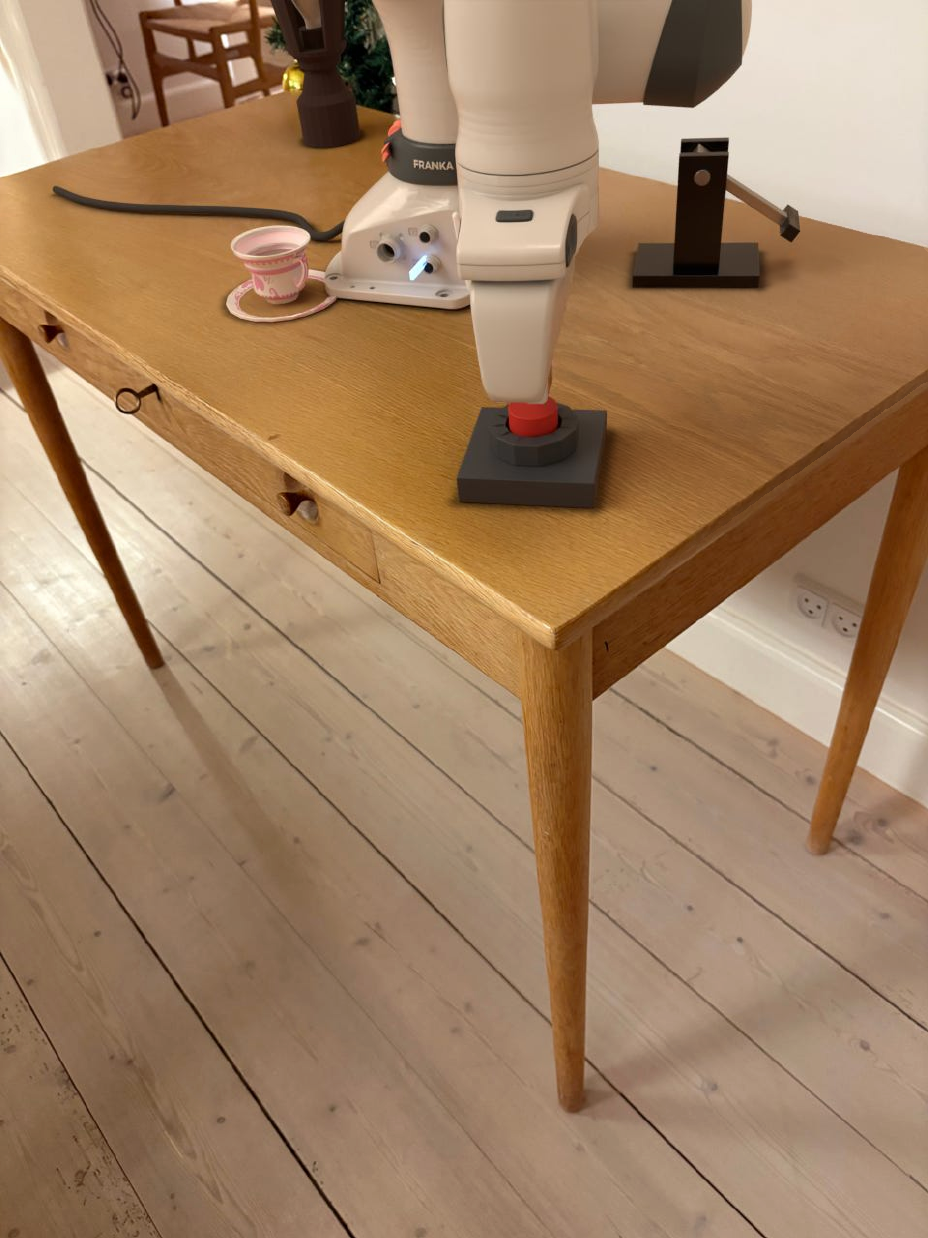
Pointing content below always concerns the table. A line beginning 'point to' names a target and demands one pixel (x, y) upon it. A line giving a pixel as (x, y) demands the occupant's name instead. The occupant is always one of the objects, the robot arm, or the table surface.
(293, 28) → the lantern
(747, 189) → the lever
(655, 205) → the table surface
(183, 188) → the table surface
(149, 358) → the table surface
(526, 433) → the button
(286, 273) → the teacup
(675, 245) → the bracket
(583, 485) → the button box
